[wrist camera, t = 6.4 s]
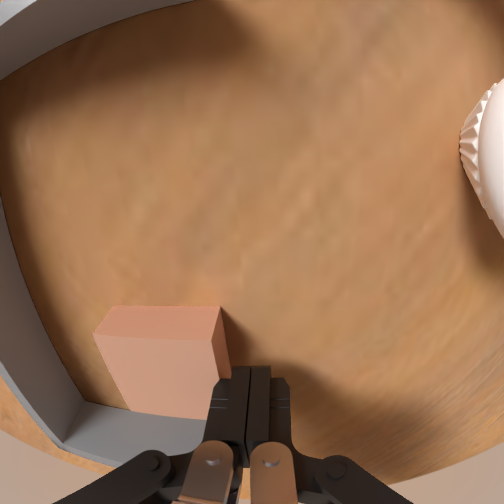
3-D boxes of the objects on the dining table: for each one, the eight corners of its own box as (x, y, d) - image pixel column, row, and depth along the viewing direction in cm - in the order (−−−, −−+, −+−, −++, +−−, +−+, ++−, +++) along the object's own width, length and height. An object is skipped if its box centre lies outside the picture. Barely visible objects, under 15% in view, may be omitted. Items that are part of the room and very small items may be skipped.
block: (221, 302, 12) (211, 340, 10) (234, 382, 14) (229, 421, 12) (116, 301, 13) (92, 334, 10) (145, 377, 14) (130, 410, 12)
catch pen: (193, -24, 7) (158, -80, 3) (245, 431, 15) (240, 487, 12) (-20, 76, 8) (-75, 80, 4) (79, 408, 16) (58, 448, 13)
